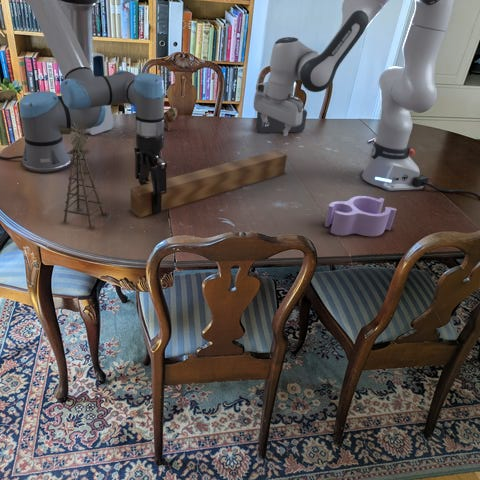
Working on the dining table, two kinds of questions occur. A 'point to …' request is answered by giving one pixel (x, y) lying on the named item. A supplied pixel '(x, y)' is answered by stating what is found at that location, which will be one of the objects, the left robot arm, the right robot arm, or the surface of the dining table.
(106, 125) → the electronic device
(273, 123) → the handheld gaming console
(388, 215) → the clip
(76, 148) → the miniature windmill
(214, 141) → the dining table surface
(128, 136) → the dining table surface
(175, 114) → the lion figurine
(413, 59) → the right robot arm
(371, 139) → the sword
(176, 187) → the bar
